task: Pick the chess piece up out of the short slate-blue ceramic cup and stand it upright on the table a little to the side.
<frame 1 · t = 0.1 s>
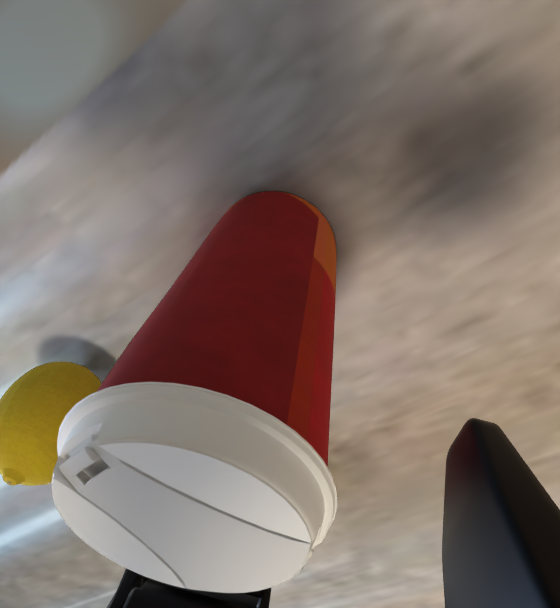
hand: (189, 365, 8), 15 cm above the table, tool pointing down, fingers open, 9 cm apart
lemon: (87, 366, 32), on the table
paper cup: (278, 244, 24), on the table
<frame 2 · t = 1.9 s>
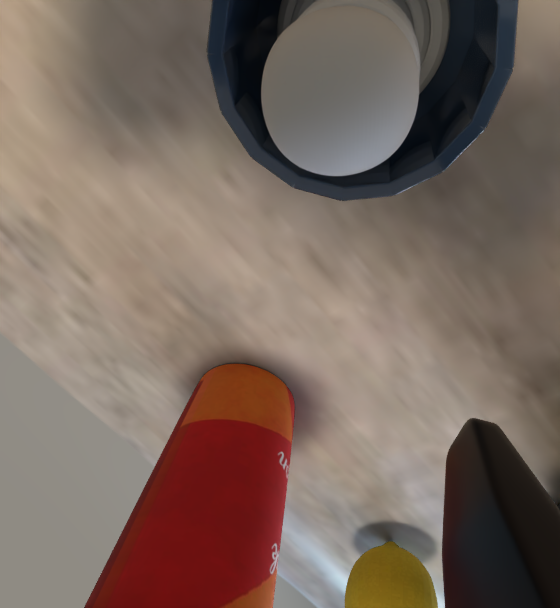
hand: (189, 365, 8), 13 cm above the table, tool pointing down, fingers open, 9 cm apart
lemon: (390, 539, 35), on the table
paper cup: (247, 396, 29), on the table
chess piece: (362, 30, 17), resting on ceramic cup
ceramic cup: (362, 29, 17), on the table
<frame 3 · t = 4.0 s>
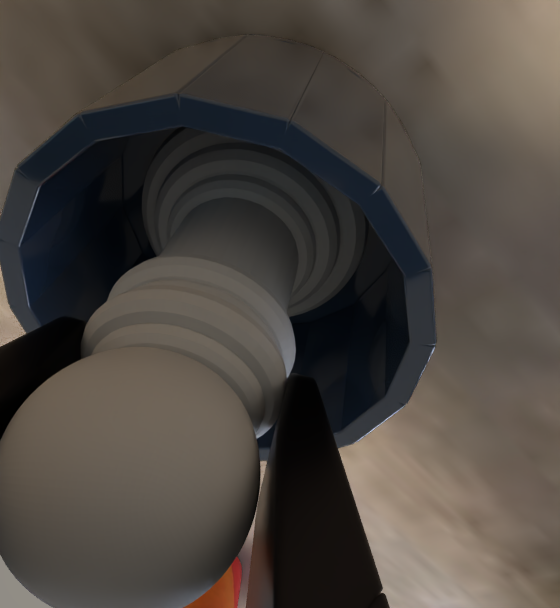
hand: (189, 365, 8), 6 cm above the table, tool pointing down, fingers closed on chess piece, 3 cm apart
paper cup: (187, 553, 25), on the table
chess piece: (259, 210, 13), resting on ceramic cup, touching gripper
ceramic cup: (260, 208, 13), on the table
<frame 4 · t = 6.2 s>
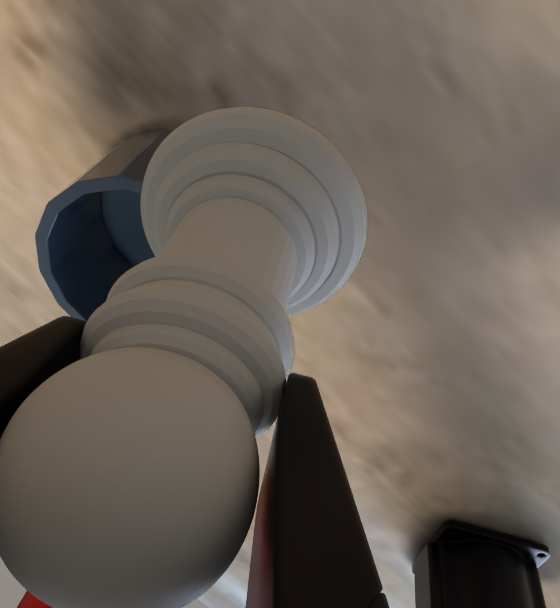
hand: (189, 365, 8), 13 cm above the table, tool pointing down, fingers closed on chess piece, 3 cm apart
paper cup: (152, 466, 34), on the table
chess piece: (258, 210, 13), point 7 cm above the table, touching gripper
ceramic cup: (181, 219, 22), on the table
when the fingers open (5 cm above the table, at t = 8.6 s): chess piece stays where it is, on the table.
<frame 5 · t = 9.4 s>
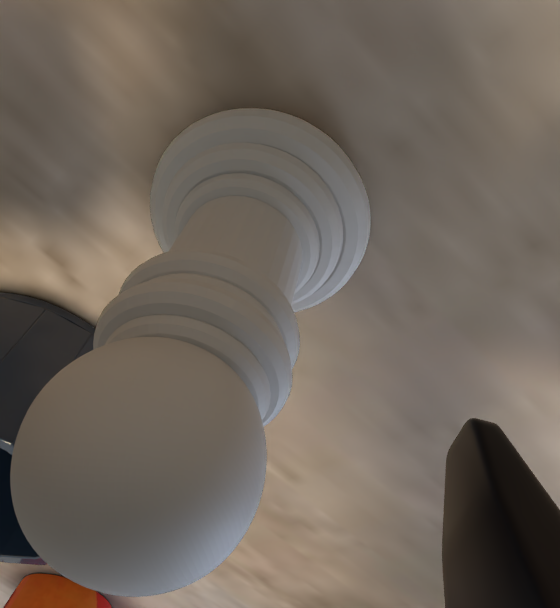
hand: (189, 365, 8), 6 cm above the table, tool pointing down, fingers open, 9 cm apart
paper cup: (69, 593, 30), on the table
chess piece: (264, 208, 13), on the table
ceramic cup: (42, 380, 18), on the table
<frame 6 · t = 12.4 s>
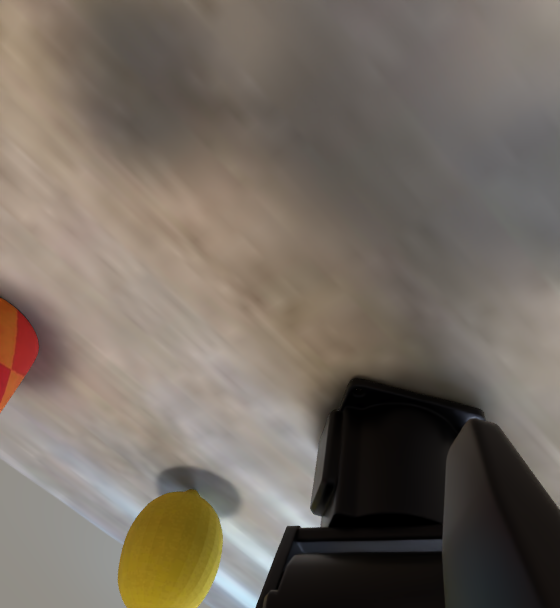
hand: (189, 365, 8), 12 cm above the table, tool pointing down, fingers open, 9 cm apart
lemon: (194, 488, 33), on the table
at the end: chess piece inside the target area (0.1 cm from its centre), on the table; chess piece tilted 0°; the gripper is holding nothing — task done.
